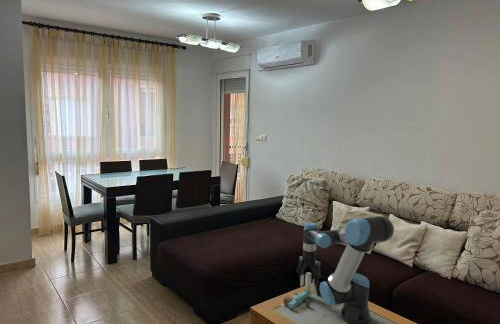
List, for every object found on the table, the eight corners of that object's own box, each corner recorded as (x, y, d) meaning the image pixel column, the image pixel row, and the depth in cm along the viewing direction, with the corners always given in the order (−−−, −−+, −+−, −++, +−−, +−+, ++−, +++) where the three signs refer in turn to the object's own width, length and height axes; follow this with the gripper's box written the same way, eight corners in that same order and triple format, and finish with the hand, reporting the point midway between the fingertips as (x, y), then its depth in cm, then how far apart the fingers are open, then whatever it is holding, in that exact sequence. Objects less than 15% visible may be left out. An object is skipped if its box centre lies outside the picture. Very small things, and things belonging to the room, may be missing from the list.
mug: (335, 298, 212) (336, 283, 211) (315, 297, 213) (316, 282, 212) (333, 292, 220) (334, 277, 219) (314, 290, 221) (314, 276, 220)
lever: (312, 294, 211) (313, 273, 210) (294, 309, 194) (295, 286, 193) (305, 292, 214) (306, 271, 213) (286, 306, 197) (287, 283, 196)
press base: (312, 307, 201) (312, 298, 201) (302, 315, 193) (302, 306, 192) (290, 299, 210) (290, 290, 209) (280, 306, 201) (280, 298, 200)
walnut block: (292, 305, 201) (292, 298, 200) (288, 307, 198) (289, 300, 198) (286, 303, 203) (286, 296, 203) (283, 305, 200) (283, 298, 200)
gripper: (328, 251, 205) (326, 290, 208) (297, 243, 217) (296, 280, 220) (322, 255, 199) (320, 295, 202) (291, 247, 211) (289, 284, 214)
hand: (307, 287), depth 211 cm, fingers open, 7 cm apart
